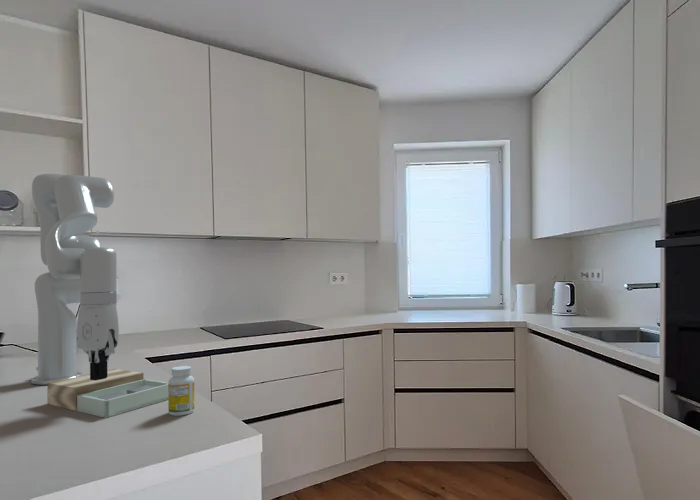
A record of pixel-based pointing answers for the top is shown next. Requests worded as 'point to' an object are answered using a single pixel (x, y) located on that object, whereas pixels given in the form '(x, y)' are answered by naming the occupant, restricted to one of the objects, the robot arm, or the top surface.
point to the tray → (122, 398)
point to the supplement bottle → (181, 391)
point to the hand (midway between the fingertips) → (98, 378)
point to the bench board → (86, 386)
